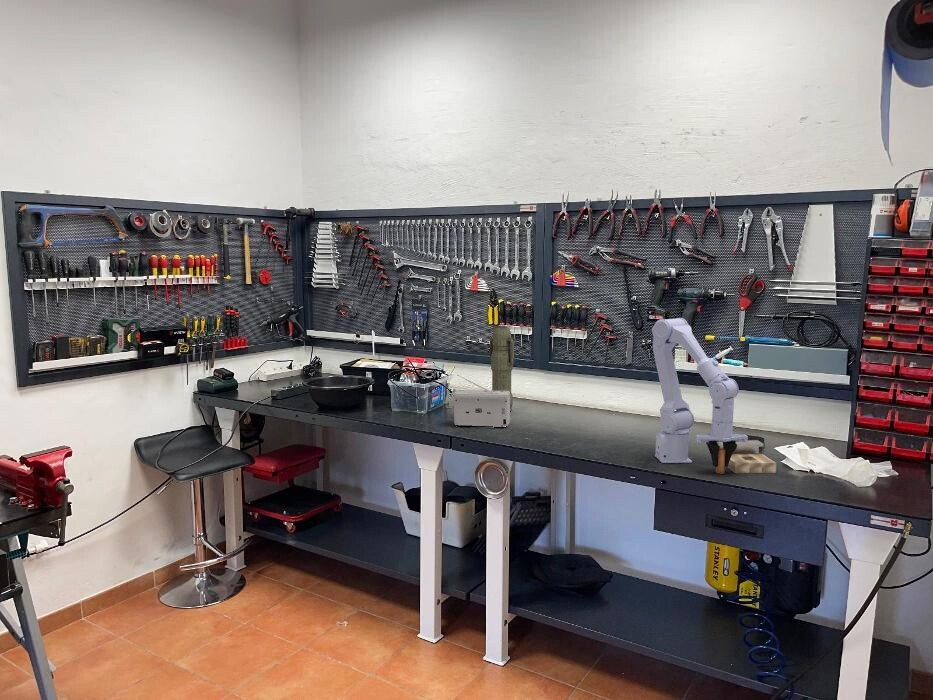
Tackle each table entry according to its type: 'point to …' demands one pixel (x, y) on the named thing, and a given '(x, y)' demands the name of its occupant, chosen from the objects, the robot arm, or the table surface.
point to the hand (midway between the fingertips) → (720, 466)
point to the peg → (721, 461)
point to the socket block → (751, 463)
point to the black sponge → (758, 440)
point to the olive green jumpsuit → (502, 360)
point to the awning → (746, 447)
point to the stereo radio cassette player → (481, 407)
